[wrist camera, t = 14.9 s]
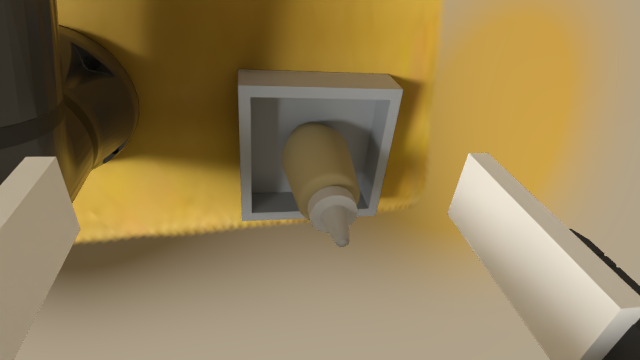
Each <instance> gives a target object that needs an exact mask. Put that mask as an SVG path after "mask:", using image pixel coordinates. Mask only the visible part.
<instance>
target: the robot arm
mask: <svg viewBox="0 0 640 360" xmlns="http://www.w3.org/2000/svg"><path fill="white" fill-rule="evenodd" d="M138 117H139V103H138V98H137V94H136V90H135V88H134V85H133V83H132V81H131V79H130V77H129V76H128V74H127V72H126V71H125V69H124V68H123V67H122V66H121V64H120V63H119V62H118V61H117V60H116V59H115V58H114V57H113V56H112V55H111V54H110V53H109V52H108V51H107V50H106V49H104V48H103V47H102V46H100V45H99V44H98V43H96V42H95V41H93V40H92V39H90V38H88V37H86V36H84V35H82V34H80V33H78V32H76V31H73V30H71V29H68V28H65V27H62V26H59V25H58V12H57V0H0V360H14V358H15V356H16V354H17V352H18V350H19V348H20V346H21V344H22V343H23V341H24V339H25V337H26V335H27V333H28V331H29V329H30V327H31V325H32V323H33V321H34V319H35V317H36V315H37V313H38V311H39V309H40V307H41V306H42V303H43V302H44V299H45V297H46V296H47V294H48V292H49V290H50V288H51V286H52V284H53V282H54V280H55V278H56V276H57V274H58V272H59V270H60V268H61V266H62V264H63V262H64V260H65V259H66V257H67V255H68V253H69V251H70V249H71V247H72V245H73V243H74V241H75V239H76V237H77V235H78V233H79V231H80V226H79V223H78V220H77V217H76V214H75V212H74V209H73V206H72V203H73V201H74V199H75V198H76V196H77V194H78V192H79V191H80V189H81V187H82V185H83V184H84V182H85V180H86V178H87V176H88V175H89V173H90V171H92V170H93V169H95V168H97V167H99V166H100V165H102V164H104V163H106V162H108V161H109V160H111V159H112V158H114V157H115V156H117V155H118V154H119V153H120V152H121V151H122V150H123V149H124V148H125V146H126V145H127V144H128V142H129V140H130V139H131V137H132V135H133V133H134V130H135V128H136V125H137V122H138ZM448 215H449V217H450V218H451V220H452V221H453V222H454V224H455V225H456V227H457V228H458V229H459V231H460V232H461V234H462V235H463V237H464V238H465V240H466V241H467V242H468V244H469V245H470V247H471V248H472V249H473V251H474V252H475V254H476V255H477V257H478V258H479V259H480V261H481V262H482V264H483V265H484V267H485V268H486V269H487V271H488V272H489V273H490V275H491V276H492V278H493V279H494V281H495V282H496V284H497V285H498V286H499V288H500V289H501V291H502V292H503V293H504V295H505V296H506V298H507V299H508V301H509V302H510V303H511V305H512V306H513V308H514V309H515V311H516V312H517V313H518V315H519V316H520V318H521V319H522V320H523V322H524V323H525V325H526V326H527V328H528V329H529V330H530V332H531V333H532V335H533V336H534V337H535V339H536V340H537V342H538V343H539V345H540V346H541V347H542V349H543V350H544V352H545V353H546V354H547V356H548V357H549V358H550V360H640V286H639V285H638V284H637V283H636V282H635V281H634V280H632V279H631V278H630V277H629V276H628V275H627V274H626V273H625V272H624V271H623V270H622V269H621V268H617V267H616V264H615V263H614V262H613V261H611V259H610V258H608V257H607V256H604V253H603V252H602V251H601V250H600V249H599V248H598V247H596V246H595V245H594V244H593V243H592V242H591V241H590V240H589V239H587V238H585V237H584V236H582V235H580V234H579V233H577V232H575V231H574V230H572V229H568V228H567V227H566V226H565V225H564V224H563V223H562V222H561V221H560V220H559V219H558V218H557V217H556V216H554V215H553V214H552V213H551V212H550V211H549V210H548V209H547V208H546V207H545V206H544V205H543V204H542V203H541V202H540V201H539V200H537V199H536V198H535V197H534V196H533V195H532V194H531V193H530V192H529V191H528V190H527V189H526V188H525V187H524V186H523V185H522V184H521V183H519V182H518V181H517V180H516V179H515V178H514V177H513V176H512V175H511V174H510V173H509V172H508V171H507V170H506V169H504V167H503V166H501V165H500V164H499V163H498V162H497V161H496V160H495V159H494V158H493V157H492V156H491V155H490V154H489V153H469V154H468V156H467V159H466V162H465V165H464V168H463V171H462V174H461V176H460V179H459V182H458V185H457V188H456V191H455V193H454V196H453V199H452V202H451V205H450V208H449V210H448Z"/></svg>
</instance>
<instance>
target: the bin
mask: <svg viewBox="0 0 640 360" xmlns="http://www.w3.org/2000/svg"><path fill="white" fill-rule="evenodd" d="M402 94H403V89H402V88H401V87H400V86H399V84H398V83H397V82H396V81H395V80H394V79H393V78H392V77H391V76H390V75H389V74H370V73H340V72H311V71H281V70H252V69H238V105H239V139H240V173H241V206H242V221H256V220H280V219H304V218H306V217H305V216H303V215H302V214H301V213H300V211H299V208H298V206H297V204H296V201H295V198H294V196H293V193H292V190H291V187H290V185H289V182H288V179H287V177H286V174H285V171H284V169H283V166H282V163H281V162H282V150H283V148H284V146H285V144H286V142H287V140H288V138H289V137H290V135H291V133H292V131H293V130H294V129H295V128H297V127H298V126H299V125H301V124H304V123H307V122H319V123H322V124H324V125H326V126H328V127H330V128H332V129H334V130H336V131H338V132H339V133H340V134H341V135H342V136H343V138H344V139H345V140H346V141H347V145H348V148H349V152H350V156H351V159H352V163H353V167H354V170H355V174H356V178H357V182H358V185H359V189H360V198H359V203H358V204H357V208H358V213H357V216H375V215H376V212H377V208H378V203H379V198H380V194H381V189H382V185H383V180H384V176H385V171H386V167H387V162H388V157H389V153H390V148H391V144H392V139H393V135H394V130H395V126H396V121H397V116H398V112H399V107H400V103H401V98H402Z"/></svg>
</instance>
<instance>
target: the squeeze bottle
mask: <svg viewBox="0 0 640 360" xmlns="http://www.w3.org/2000/svg"><path fill="white" fill-rule="evenodd" d="M281 163H282V166H283V169H284V171H285V174H286V177H287V179H288V182H289V185H290V187H291V190H292V193H293V196H294V198H295V201H296V204H297V206H298V208H299V211H300V213H301V214H302V215H303V216H305V217H306V218H307V219H308V220H310V221H311V223H312V226H313V227H315V228H316V229H317V230H318V231H321V232H325V233H329V234H330V235H331V237H332V238H333V239H334V241H335V243H336V245H338V246H339V247H344V246H346V245H348V244H349V226H350V225H351V224H352V223H353V222H354V221H355V219H356V218H357V213H358V208H357V204H358V203H359V198H360V189H359V185H358V182H357V178H356V174H355V170H354V167H353V163H352V159H351V156H350V152H349V148H348V145H347V141H346V140H345V139H344V138H343V136H342V135H341V134H340V133H339V132H338V131H336V130H334V129H332V128H330V127H328V126H326V125H324V124H322V123H319V122H307V123H304V124H301V125H299V126H298V127H297V128H295V129H294V130H293V131H292V133H291V135H290V137H289V138H288V140H287V142H286V144H285V146H284V148H283V150H282V162H281Z"/></svg>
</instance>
